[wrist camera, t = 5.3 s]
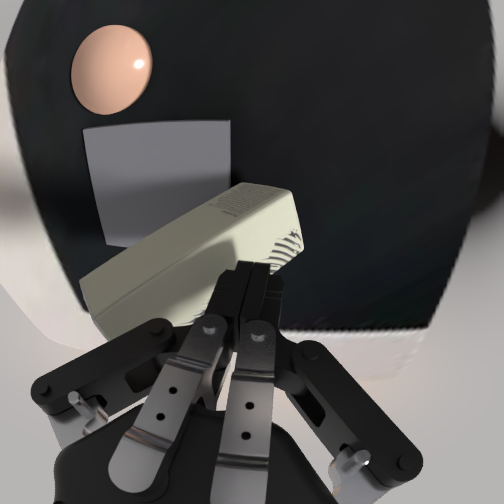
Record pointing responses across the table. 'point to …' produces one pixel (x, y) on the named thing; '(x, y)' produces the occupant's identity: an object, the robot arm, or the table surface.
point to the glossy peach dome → (111, 69)
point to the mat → (155, 173)
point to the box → (192, 259)
